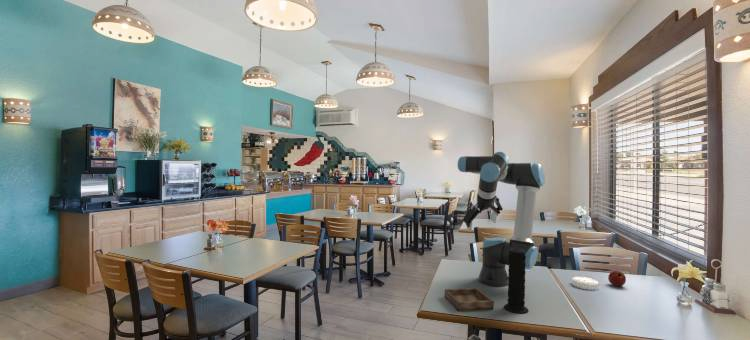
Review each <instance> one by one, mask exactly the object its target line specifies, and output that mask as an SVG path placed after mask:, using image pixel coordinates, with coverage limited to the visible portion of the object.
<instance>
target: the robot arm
mask: <svg viewBox="0 0 750 340" xmlns="http://www.w3.org/2000/svg"><path fill="white" fill-rule="evenodd" d="M457 169H458V171H459V172H461V173H470V174H471V173H472V174H476V175H479V181H478V189H477V193H476V204H473V203H471V204H470V206H469V208H468V210H467V212H466V214H465V215H464V216H463V218H462V221H463V222H464V224H465V225H466V230H467V231H468V233H471V232H472V228H473V221H474V220H475V219H476V217H478V215H479V214H481V213H482V212H483V211H485V210H488V209H489V208H490V209H492V211H491V218H490V220H491V221H492V223H494V224H496V223H497V217H498V216H499V214H501V211H503V206H502V205H501V203H500V198H499V197H498V196H497V195H496V193H497V188H498V182H500V183H504V184H506V185H507V184H508V185H515V189H516V190H517V198H516V207H515V208H516V209H515V218H514V219H515V220H514V228H513V236H512V237H510V238H509V242H508V241H507V239H506V238H505V237H488V238H485V239H484V240H483V242H482V267H481V269H480V271H479V274H478V281H479V282H480V283H481V284H484V285H487V286H490V287H491V286H492V287H505V286H508V283H509V282H508V276H509V275H508V273H507V270H506V266H509V249H515V248H518V249H522V250H525V251H526V253H525V255H526V259H525V261H526V262H525V264H526V266H525V268H526V269H525V270H530V269H531V270H532V269H533V268H534V266H535V265H536V263H537V259H538V254H539V252H538V251H539V250H538V247H537V246H535V242H534V241H533V227H534V219H535V218H534V216H535V207H536V196H537V192H539V191H540V188H541V187H543V186H544V185H545V183H546V175H545V171H544V168H543V166H542V165H541V164H540V163H535V162H534V163H533V162H520V163H519V162H517V163H515V162H510V158H509V155H507V154H506V153H505V152H503V151H497V152H495V153H493V154H492V155H487V156H485V155H484V156H482V155H481V156H475V155H474V156H473V155H472V156H468V155H466V156H460V157H459V158H458V161H457ZM493 203H495V205H493Z"/></svg>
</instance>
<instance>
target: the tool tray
mask: <svg viewBox="0 0 750 340" xmlns="http://www.w3.org/2000/svg"><path fill="white" fill-rule="evenodd" d="M444 298H445V299H446V300H447V301H448V302H449V303H450V305H452V306H453V307H454V308H455V310H457V312H469V311H472V312H473V311H486V310H494V300H493V299H492V298H490V297H489V296H488V295H487V294H485V293H484V292H483V291H481V290H480V289H479V288H477V287H471V288H467V287H465V288H450V289H449V288H448V289H447V288H446V289H444Z"/></svg>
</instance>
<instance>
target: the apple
mask: <svg viewBox="0 0 750 340" xmlns="http://www.w3.org/2000/svg"><path fill="white" fill-rule="evenodd" d="M607 280H608V282H609V283H610V284H611V285H613V286H615V287H622V286H625V283H626V282H627V277H626V275H625V274H624V273H623V272H621V270H613V271H610V273H609V274H608V277H607Z"/></svg>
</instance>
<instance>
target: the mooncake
mask: <svg viewBox="0 0 750 340" xmlns="http://www.w3.org/2000/svg"><path fill="white" fill-rule="evenodd" d="M571 284H572V286H574V287H576V288H579V289H583V290H588V291H596V290H599V286H600V285H599V284H600V282H599V281H598V280H596V279H594V278H590V277H587V276H574V277H571Z"/></svg>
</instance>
